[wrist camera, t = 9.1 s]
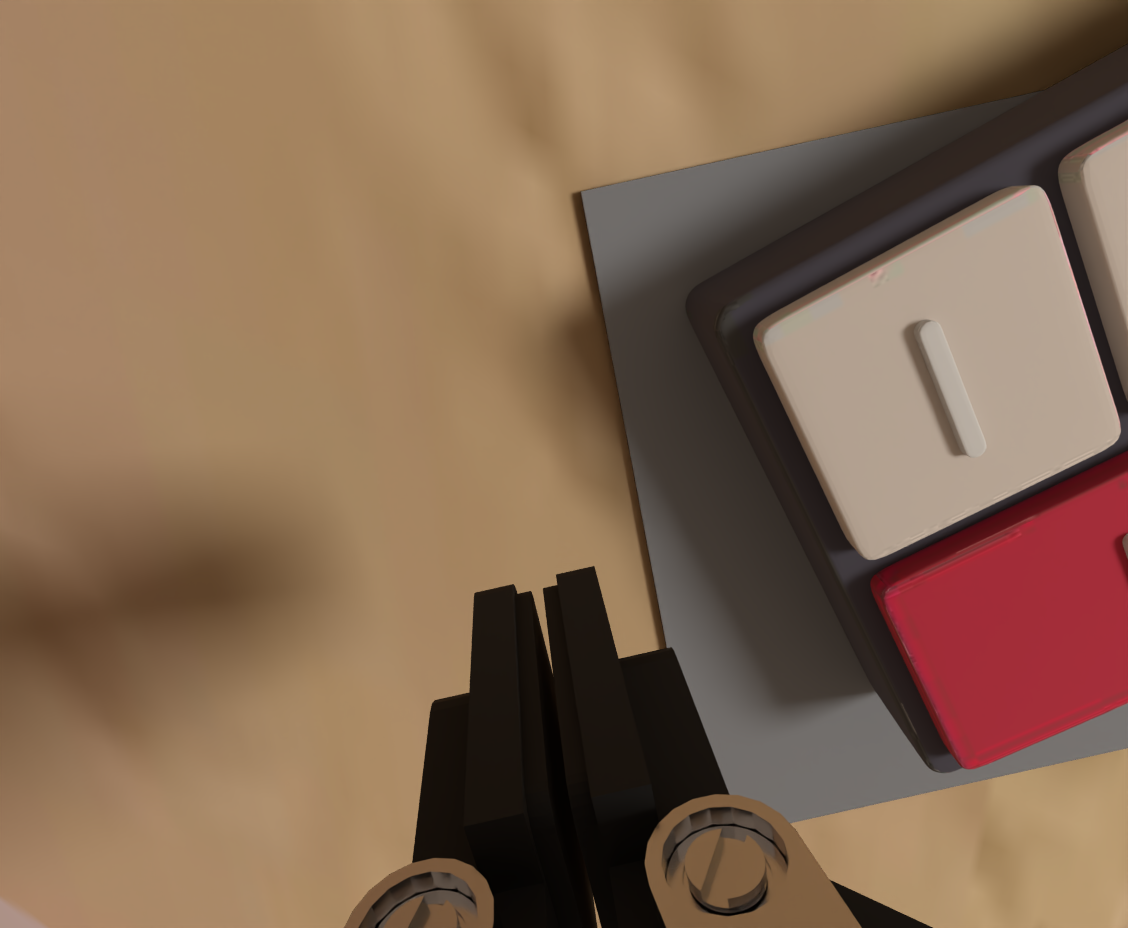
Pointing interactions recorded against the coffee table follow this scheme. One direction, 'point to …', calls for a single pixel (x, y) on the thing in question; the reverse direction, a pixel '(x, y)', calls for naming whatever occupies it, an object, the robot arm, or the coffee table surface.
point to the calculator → (958, 418)
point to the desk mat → (759, 484)
